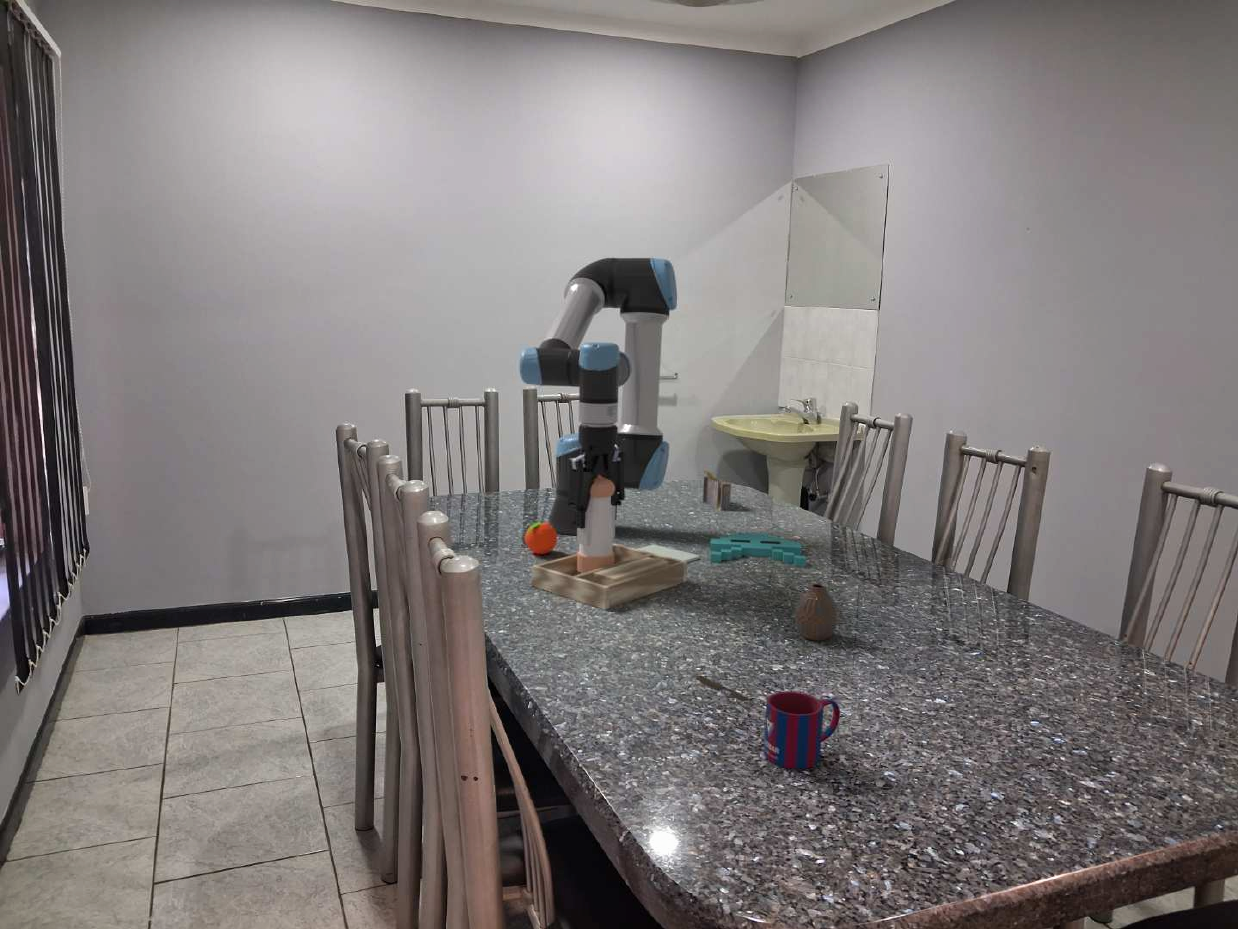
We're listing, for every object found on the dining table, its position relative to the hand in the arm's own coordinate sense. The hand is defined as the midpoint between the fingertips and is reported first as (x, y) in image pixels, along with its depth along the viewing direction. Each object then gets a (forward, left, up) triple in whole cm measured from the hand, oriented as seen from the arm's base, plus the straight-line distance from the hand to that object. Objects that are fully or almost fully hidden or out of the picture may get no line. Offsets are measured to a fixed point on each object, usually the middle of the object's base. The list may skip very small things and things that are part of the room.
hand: (596, 540), depth 176 cm
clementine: (-21, +5, -8) cm, 23 cm away
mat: (-1, +21, -8) cm, 22 cm away
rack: (+4, 0, -8) cm, 9 cm away
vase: (+47, +3, -8) cm, 48 cm away
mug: (+66, -34, -8) cm, 75 cm away
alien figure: (+11, +41, -9) cm, 43 cm away
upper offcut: (+9, 0, -6) cm, 11 cm away
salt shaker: (0, 0, -6) cm, 6 cm away
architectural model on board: (-22, +73, -9) cm, 77 cm away
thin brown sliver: (+48, -25, -8) cm, 55 cm away
